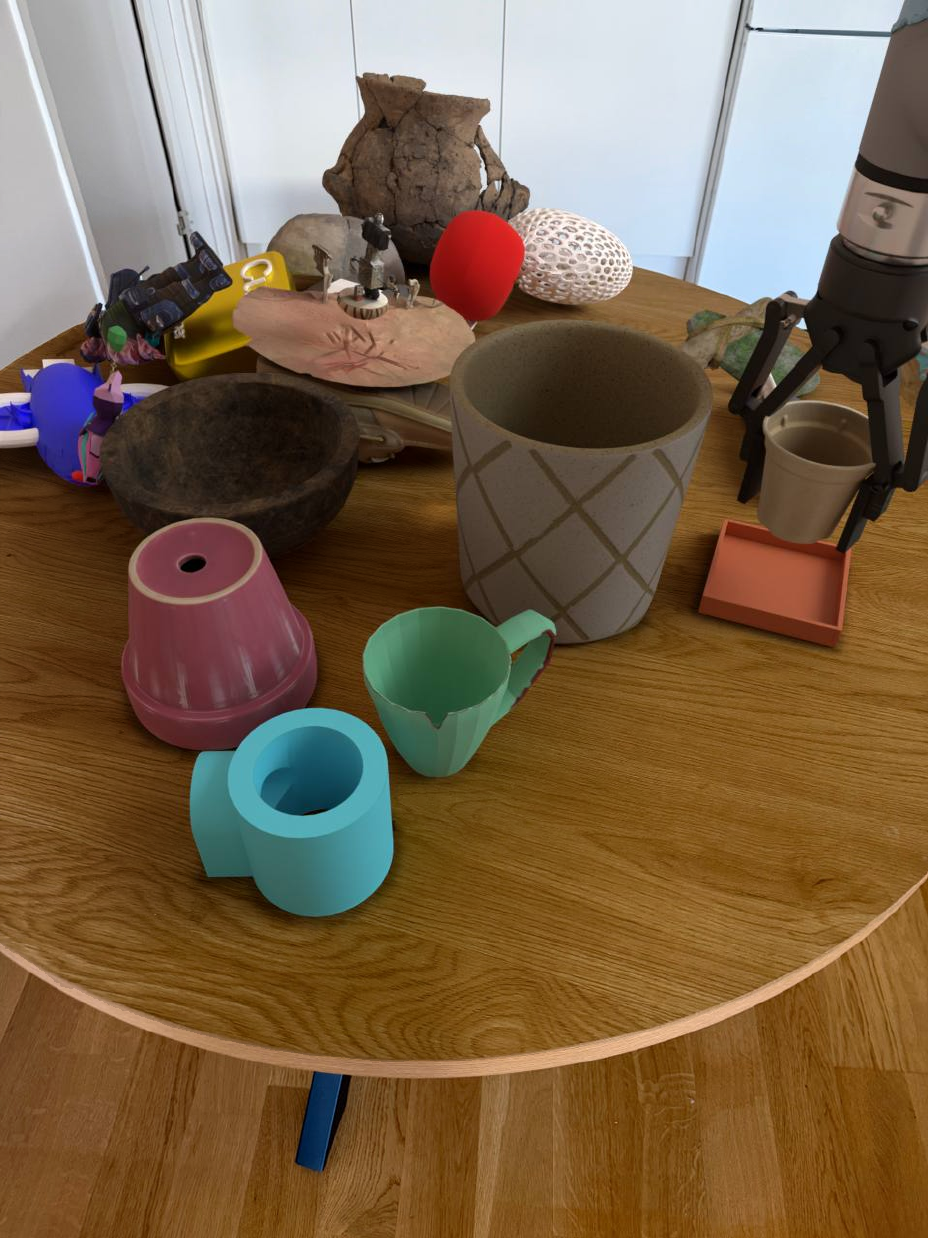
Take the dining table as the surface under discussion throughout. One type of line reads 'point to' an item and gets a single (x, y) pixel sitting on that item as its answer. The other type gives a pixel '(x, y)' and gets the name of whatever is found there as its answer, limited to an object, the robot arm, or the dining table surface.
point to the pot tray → (777, 583)
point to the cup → (298, 811)
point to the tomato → (476, 264)
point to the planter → (572, 469)
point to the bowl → (235, 457)
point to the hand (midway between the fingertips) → (796, 518)
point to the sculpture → (355, 325)
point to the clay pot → (419, 164)
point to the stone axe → (738, 343)
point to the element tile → (223, 323)
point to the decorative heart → (570, 258)
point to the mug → (450, 680)
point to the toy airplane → (58, 412)
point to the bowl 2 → (329, 246)
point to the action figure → (152, 305)
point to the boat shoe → (388, 413)
